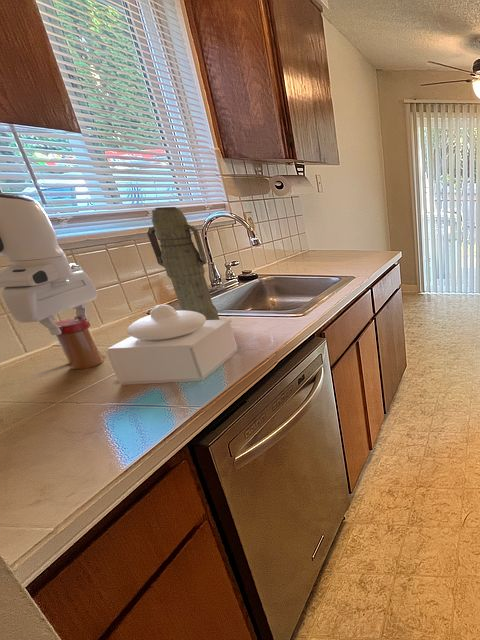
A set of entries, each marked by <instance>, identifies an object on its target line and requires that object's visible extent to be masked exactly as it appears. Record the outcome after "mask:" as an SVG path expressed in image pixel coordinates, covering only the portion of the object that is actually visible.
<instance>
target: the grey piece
mask: <svg viewBox="0 0 480 640" xmlns="http://www.w3.org/2000/svg"><path fill="white" fill-rule="evenodd" d="M151 223H152V227H149V228H148V230H147V233H146V234H147V237H148V240H149V242H150V244H151V247H152V250H153V252H154V254H155V258H156V261H157V264H158V265H159V266H161V267H163V268H164V270H165V273H166V276H167V277H168V278H169V279H170V281H171V285H172V287H173V290H174V293H175V295H176V299H177V302H178V305H179V308H180V310H184V311H194V312H198V313H201V314H203V315H204V316H205V317H206V320H221V319H220V316H219V313H218V310H217V307H216V306H215V305H214V303H213V301H212V297H211V294H210V291H209V288H208V284H207V281H206V277H205V272H206V271H205V268H204V265H207V264H208V262H207V261H208V260H207V257H206V253H205V250H204V246H203V242H202V239H201V236H200V232H199V230H198V229H197V227H195V225H191V224H189V223H188V219H187V218H186V216H185V214H184V213H183V211H182V210H181V208H178V207H176V206H163V207H161V206H160V207H154V209H151ZM191 232H192V233H193V236H194V240H195V243H196V245H195V243H194V242H193V239H192V238H193V236H192V233H191ZM196 246H197V247H196Z"/></svg>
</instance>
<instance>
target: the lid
mask: <svg viewBox="0 0 480 640" xmlns="http://www.w3.org/2000/svg"><path fill="white" fill-rule="evenodd" d="M54 322H55V323H56V324H57V325H58V326H62V327H63V330H64V333H62V334H68V333H74V332H78V331H82V330H85V329H87V328H89V329H90V327H91V324H90V320H89V321H88V320H87V319H86V318H69V319H64V320H59V321H54Z"/></svg>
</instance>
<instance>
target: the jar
mask: <svg viewBox="0 0 480 640" xmlns="http://www.w3.org/2000/svg"><path fill="white" fill-rule="evenodd" d="M55 337H56V339H57V341H58V344H59V345H60V346H59V347H61V349H62V352H63V354H64V356H65V358H66V361H67V363H68V364H69V367H70V368H71V369H72V370H84V369H89V368H93V367H96V366H99V365H101V364H102V363H104V358H103V356H102V354H101V352H100V349H99V347H98V344H97V342H96V340H95V338H94V336H93V333H92V331H91V329H90V327H89V328H87V329H85V330H82V331H78V332H74V333H68V334H60V335H55Z"/></svg>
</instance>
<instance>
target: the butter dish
mask: <svg viewBox="0 0 480 640" xmlns="http://www.w3.org/2000/svg"><path fill="white" fill-rule="evenodd" d="M149 313H150V314H149V315H146V316H143V317H140V318H138V319H137V320H135V321H133V322H132V323H130V324H129V326H128V327H127V329H126V332H127V334H128V336H129V337H127V338H125V339H123V340H121V341H119V342H117V343H115V344H113V345H111V346H109V347H108V348H106V349H107V350H106V351H105V354H106V355H107V357H108V360H109V362H110V365H111V367H112V369H113V371H114V374H115V376H116V379H117V380H118V383H119V384H120V385H121V386H124V385H125V386H127V385H145V384H146V385H147V384H165V383H166V384H168V383H180V382H181V383H184V382H185V383H186V382H203V381H204V380H206V379H207V378H208V377H209V376H210V375H211V374H213V373H214V372H215V371H216V370H217V369H218V368H220V367H221V366H222V365H223V364H224V363H225V362H227V361H228V360H229V359H230V358H231V357H233V356H234V355H235V354H236V353H238V351H239V349H238V345H237V342H236V339H235V336H234V332H233V328H232V325H231V323H232V319H231V318H228V319H227V318H225V319H220V320H206V317H205V316H204V315H203V314H201V313H198V312H194V311H184V310H181V309H179V310H176V309H175V308H174V307H173V306H171V305H169V304H167V303H166V304H165V303H164V304H163V303H160V304H157V305H155V306H153V307H152V309H150V312H149Z"/></svg>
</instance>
